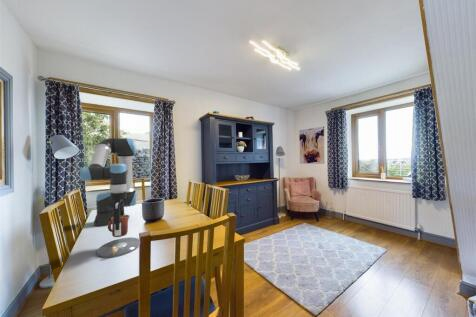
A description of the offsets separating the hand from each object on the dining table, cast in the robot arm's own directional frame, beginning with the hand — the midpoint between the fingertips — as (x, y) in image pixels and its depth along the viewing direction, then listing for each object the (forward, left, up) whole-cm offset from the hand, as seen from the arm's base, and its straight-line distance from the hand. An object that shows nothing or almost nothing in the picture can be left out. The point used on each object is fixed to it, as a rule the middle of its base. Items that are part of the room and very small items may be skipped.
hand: (119, 232), depth 102 cm
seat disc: (0, 0, -9) cm, 9 cm away
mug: (+1, -1, -2) cm, 3 cm away
